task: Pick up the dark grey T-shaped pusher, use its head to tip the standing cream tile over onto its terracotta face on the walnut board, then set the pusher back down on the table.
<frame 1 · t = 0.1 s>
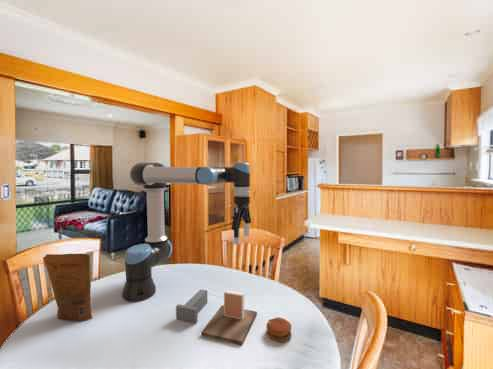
hand: (242, 240, 118), 28 cm above the table, tool pointing down, fingers open, 13 cm apart
tile: (234, 316, 102), point 1 cm above the table, touching walnut board
pusher: (196, 310, 108), on the table
walnut board: (230, 324, 99), on the table
pancake mix bag: (72, 318, 103), on the table
burger: (278, 335, 93), on the table
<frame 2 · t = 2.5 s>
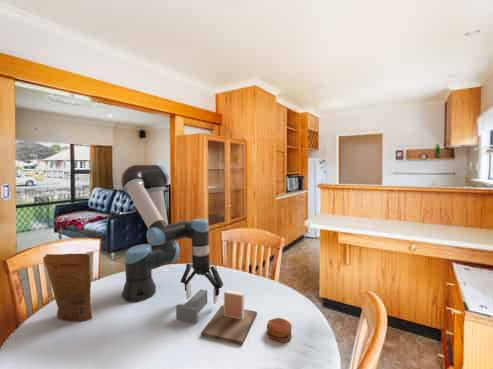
hand: (202, 300, 112), 3 cm above the table, tool pointing down, fingers open, 13 cm apart
nothing on the table moved.
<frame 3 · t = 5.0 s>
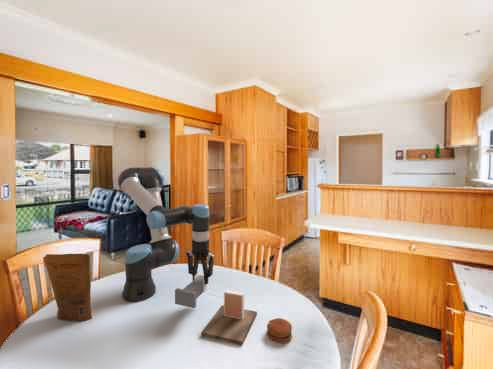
hand: (200, 289, 113), 7 cm above the table, tool pointing down, fingers closed on pusher, 3 cm apart
pusher: (195, 295, 108), point 7 cm above the table, touching gripper
everything else where it was.
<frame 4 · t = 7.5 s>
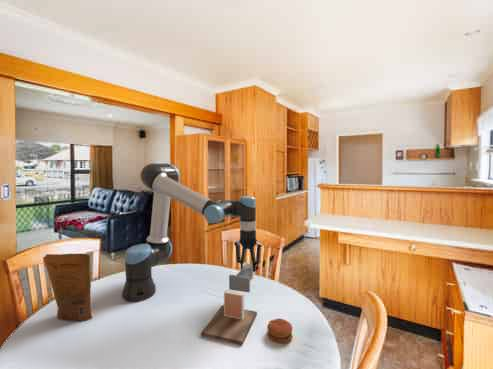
hand: (248, 277, 119), 10 cm above the table, tool pointing down, fingers closed on pusher, 3 cm apart
pusher: (245, 282, 114), point 10 cm above the table, touching gripper
everything else where it was.
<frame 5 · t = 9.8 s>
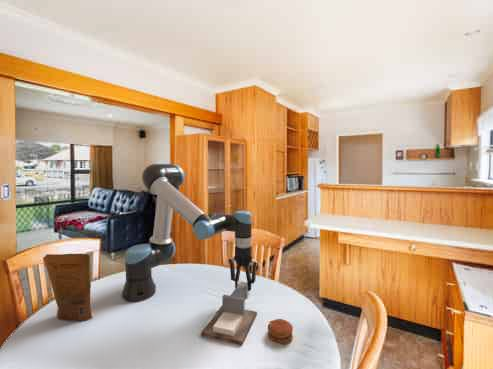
hand: (243, 296, 113), 4 cm above the table, tool pointing down, fingers closed on pusher, 3 cm apart
tile: (232, 315, 100), point 3 cm above the table, tilted 90°, touching walnut board
pusher: (239, 302, 108), point 4 cm above the table, touching gripper
everything else where it was.
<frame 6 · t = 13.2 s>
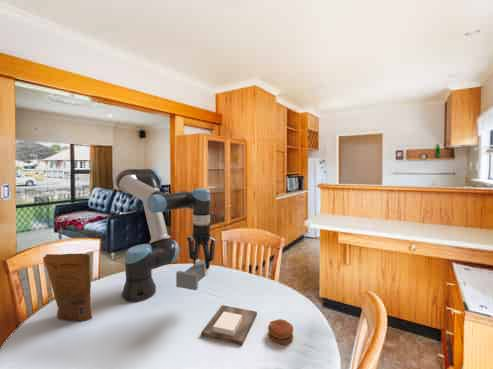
hand: (201, 274, 112), 14 cm above the table, tool pointing down, fingers closed on pusher, 3 cm apart
pusher: (196, 279, 108), point 14 cm above the table, touching gripper
when the fingers open (0 cm above the table, at t = 16.1 s): pusher stays where it is, on the table.
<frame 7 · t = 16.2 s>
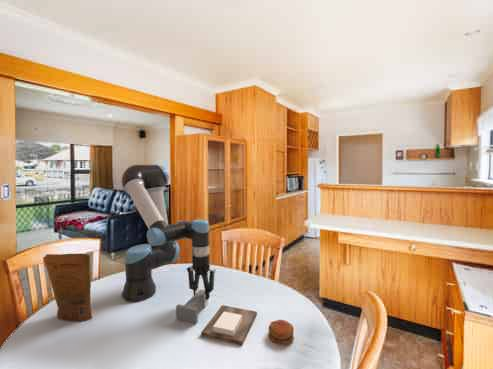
hand: (201, 304, 113), 0 cm above the table, tool pointing down, fingers open, 4 cm apart
pusher: (196, 310, 108), on the table, touching gripper
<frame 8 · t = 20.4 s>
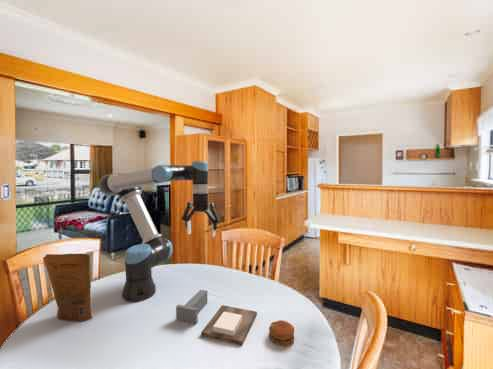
hand: (201, 235, 124), 29 cm above the table, tool pointing down, fingers open, 13 cm apart
pusher: (196, 311, 108), on the table
at the end: tile tilted 90°; tile inside the target area on the walnut board (3.1 cm from its centre), point 2.5 cm above the walnut board's base; pusher inside the target area (0.3 cm from its centre), on the table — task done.
